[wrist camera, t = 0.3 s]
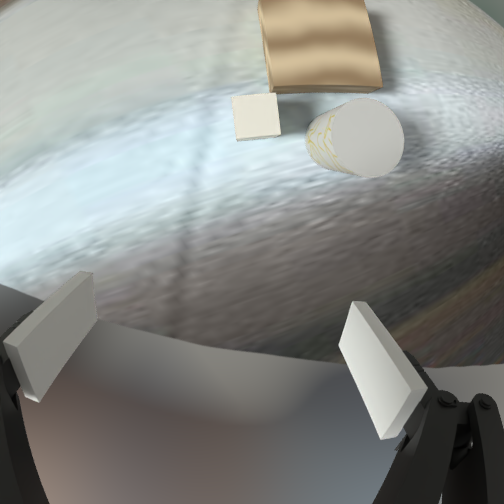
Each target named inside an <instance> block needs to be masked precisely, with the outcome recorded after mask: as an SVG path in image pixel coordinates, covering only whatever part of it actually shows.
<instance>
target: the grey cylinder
mask: <svg viewBox="0 0 504 504" xmlns="http://www.w3.org/2000/svg"><path fill="white" fill-rule="evenodd" d="M305 145H306V149H307V151H308V154H309V155H310V157H311V158H312V160H313V161H314V162H315V163H316V164H318V165H319V166H321V167H322V168H325V169H328V170H333V171H338V172H343V173H347V174H352V175H357V176H362V177H367V178H376V177H380V176H383V175H385V174H387V173H389V172H390V171H392V170H393V169H394V168H395V167H396V165H397V164H398V162H399V161H400V159H401V156H402V153H403V149H404V134H403V130H402V127H401V124H400V122H399V120H398V118H397V117H396V115H395V114H394V113H393V111H392V110H391V109H390V108H388V107H387V106H386V105H385V104H383V103H381V102H379V101H377V100H374V99H370V98H358V99H354V100H351V101H349V102H347V103H345V104H342V105H340V106H338V107H336V108H334V109H332V110H330V111H328V112H325V113H323V114H321V115H319V116H318V117H316V118H315V119H314V120H313V121H312V122H311V123H310V124H309V126H308V128H307V131H306V135H305Z"/></svg>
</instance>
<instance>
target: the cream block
mask: <svg viewBox="0 0 504 504" xmlns="http://www.w3.org/2000/svg"><path fill="white" fill-rule="evenodd" d="M231 99H232V108H233V116H234V124H235V133H236V140H237V142H238V141H246V140H255V139H265V138H275V137H277V136H279V135H281V130H280V122H279V113H278V105H277V97H276V93H263V94H252V95H242V96H234V97H231Z"/></svg>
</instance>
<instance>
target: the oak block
mask: <svg viewBox="0 0 504 504" xmlns="http://www.w3.org/2000/svg"><path fill="white" fill-rule="evenodd" d="M258 15H259V21H260V27H261V34H262V40H263V47H264V54H265V61H266V68H267V76H268V83H269V91H270V93H276V94H288V93H322V92H334V93H367V94H368V93H370V92H373V91H375V90H377V89H380V88H382V87H383V83H382V77H381V71H380V66H379V61H378V56H377V51H376V46H375V41H374V37H373V33H372V29H371V25H370V21H369V17H368V13H367V9H366V6H365V2H364V0H259V2H258Z"/></svg>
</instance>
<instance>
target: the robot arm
mask: <svg viewBox="0 0 504 504" xmlns="http://www.w3.org/2000/svg"><path fill="white" fill-rule="evenodd" d="M97 320H98V318H97V311H96V303H95V294H94V284H93V273H90V272H84V271H79V272H78V273H77V274H76V275H75V276H73V277H72V278H71V279H70V280H69V281H68V282H66V283H65V284H64V285H63V286H62V287H61V288H59V289H58V290H57V291H56V292H55V293H54V294H52V295H51V296H50V297H49V298H48V299H47V300H46V301H45V302H44V303H42V304H41V305H40V306H39V307H38V308H37V309H36V310H35V311H31V312H29V313H27V314H25V315H23V316H22V317H21V318H20V319H19V320H17V322H16V323H14V324H13V325H12V327H10V328H9V329H8V330H7V331H6V332H5V333H4V334H3V335H2V336H1V337H0V504H49V502H48V499H47V497H46V494H45V492H44V489H43V486H42V484H41V481H40V478H39V475H38V472H37V469H36V466H35V463H34V460H33V457H32V453H31V449H30V446H29V442H28V438H27V434H26V430H25V426H24V421H23V417H22V411H21V406H20V400H19V396H18V394H17V392H16V391H17V390H18V389H19V387H20V386H21V388H22V391H23V393H24V395H25V397H27V398H30V399H32V400H34V401H37V402H40V401H41V399H42V397H43V396H44V394H45V393H46V391H47V390H48V388H49V387H50V385H51V384H52V382H53V381H54V379H55V378H56V376H57V375H58V373H59V372H60V371H61V369H62V368H63V366H64V365H65V363H66V362H67V360H68V359H69V358H70V356H71V355H72V353H73V352H74V351H75V349H76V348H77V346H78V345H79V344H80V342H81V341H82V340H83V338H84V337H85V336H86V334H87V333H88V332H89V330H90V329H91V328H92V326H93V325H94V324H95V322H96V321H97ZM339 347H340V350H341V352H342V354H343V356H344V358H345V360H346V363H347V365H348V367H349V369H350V371H351V373H352V376H353V378H354V380H355V382H356V384H357V387H358V389H359V391H360V393H361V395H362V398H363V400H364V402H365V405H366V407H367V409H368V412H369V414H370V416H371V418H372V421H373V423H374V425H375V428H376V430H377V432H378V435H379V437H380V439H387V438H392V437H397V435H398V434H399V432H400V431H401V430H402V428H403V427H404V429H405V431H406V433H407V434H406V435H405V437H404V438H403V439H402V441H401V442H400V443H399V445H398V446H397V447H396V449H395V450H396V451H397V450H398V449H399V450H398V452H397V454H396V457H395V459H394V461H393V463H392V465H391V468H390V470H389V472H388V474H387V476H386V478H385V480H384V482H383V484H382V486H381V488H380V490H379V492H378V494H377V496H376V498H375V500H374V501H373V503H372V504H438V503H439V500H440V497H441V494H442V504H504V429H503V425H502V421H501V418H500V414H499V411H498V407H497V404H496V402H495V401H494V400H493V399H492V397H490V396H489V395H486V394H483V393H482V394H480V393H479V394H476V395H475V397H474V398H473V399H472V401H471V402H470V403H467V402H459V401H458V399H457V398H456V397H455V396H454V395H453V394H452V393H450V392H448V391H443V390H438V389H437V388H436V386H435V385H434V383H433V382H432V380H431V379H430V378H429V376H428V375H427V374H426V372H424V369H423V368H422V367H421V366H420V364H419V362H418V361H417V360H416V358H415V357H414V356H413V355H411V354H410V353H409V352H407V351H402V350H401V349H400V347H399V346H398V345H397V343H396V342H395V341H394V339H393V338H392V336H391V335H390V334H389V332H388V331H387V330H386V328H385V327H384V326H383V324H382V323H381V322H380V320H379V319H378V318H377V316H376V315H375V314H374V312H373V311H372V310H371V308H370V307H369V306H368V305H367V303H366V302H360V301H352V304H351V307H350V311H349V314H348V317H347V321H346V324H345V327H344V330H343V333H342V336H341V340H340V343H339ZM472 442H473V445H472V447H471V443H472Z"/></svg>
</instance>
